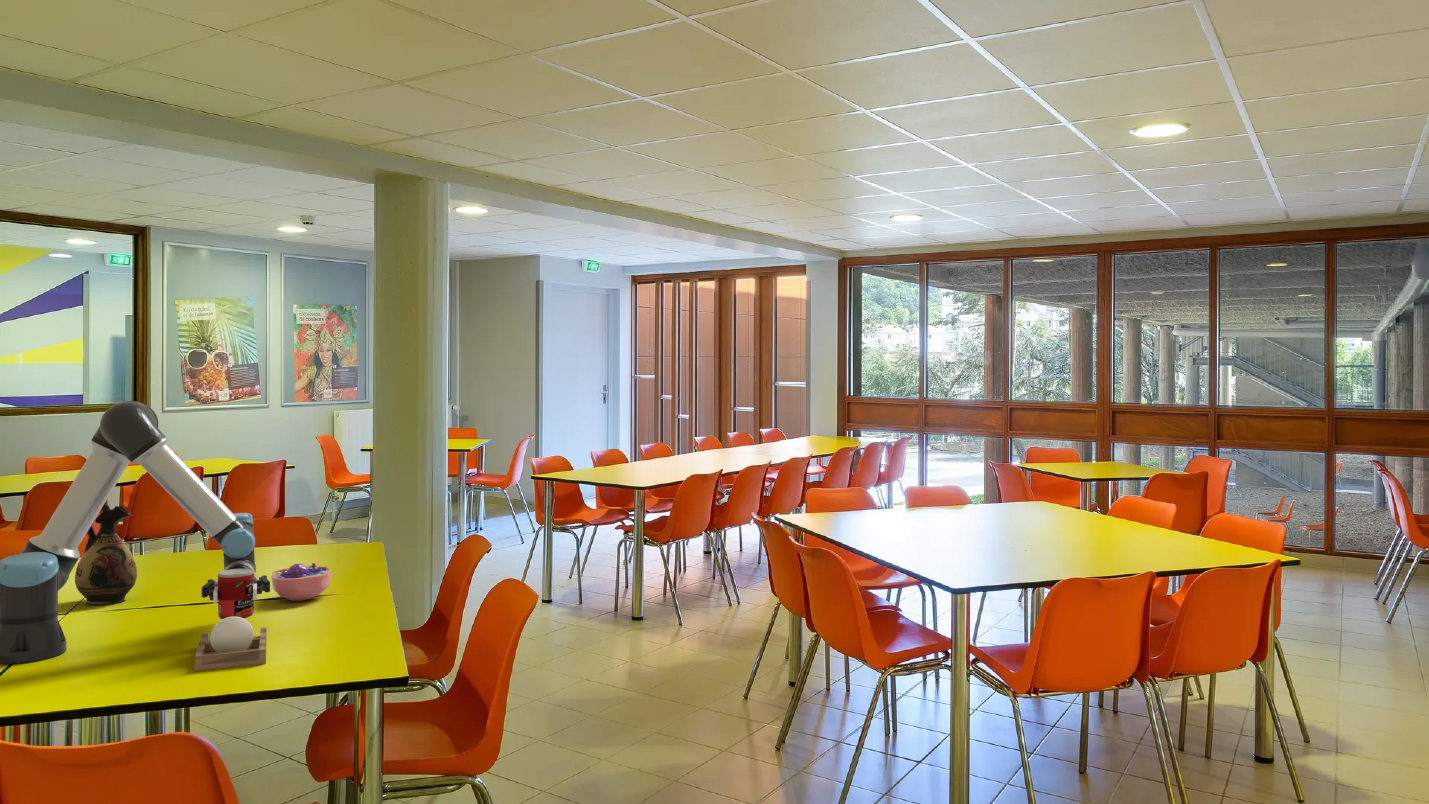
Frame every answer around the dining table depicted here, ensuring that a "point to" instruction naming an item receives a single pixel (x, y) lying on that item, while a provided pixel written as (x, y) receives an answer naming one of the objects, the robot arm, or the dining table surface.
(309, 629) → the dining table surface
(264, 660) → the walnut tray
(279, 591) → the cell model
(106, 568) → the ceramic jug
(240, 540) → the robot arm
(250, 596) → the canned food
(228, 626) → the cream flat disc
